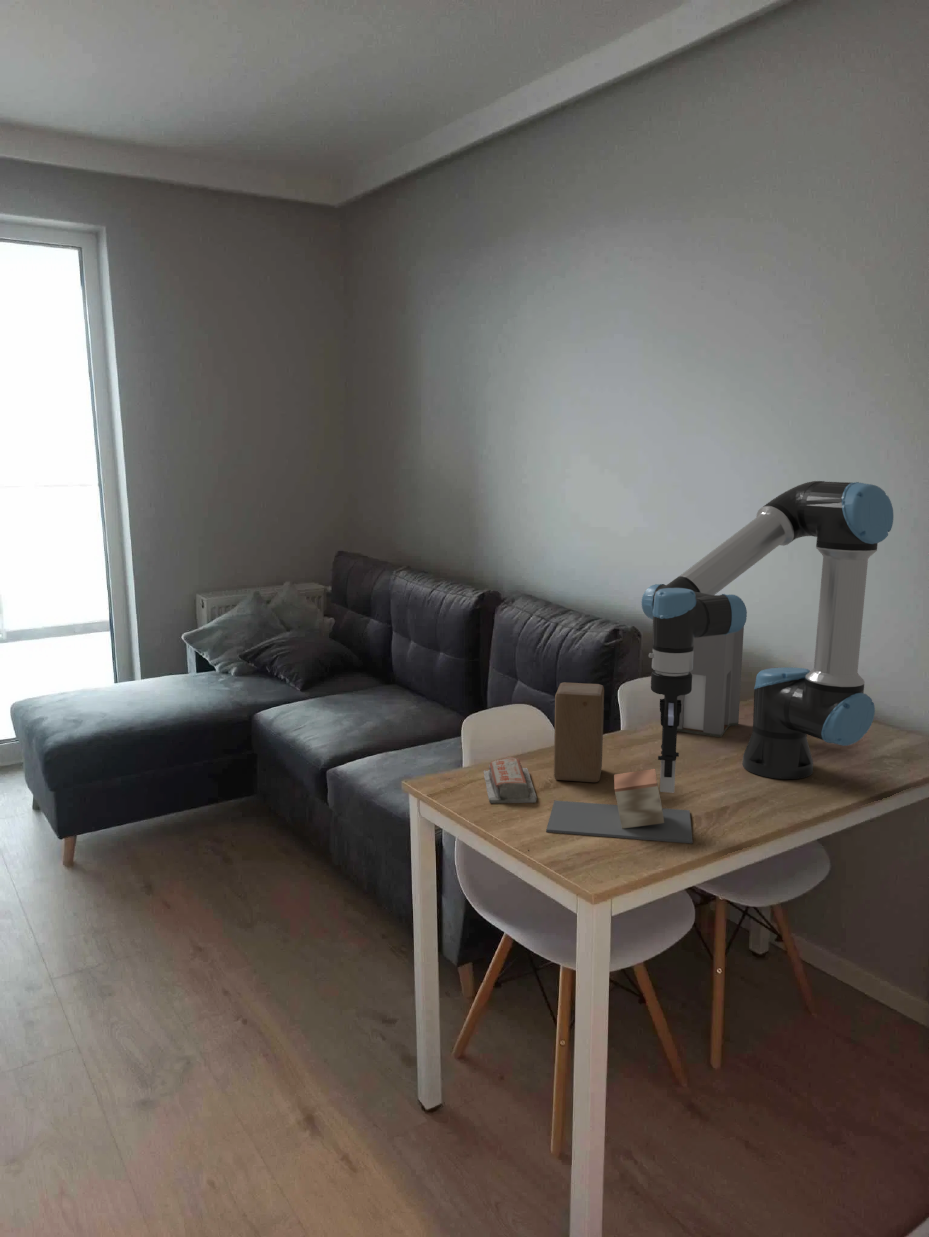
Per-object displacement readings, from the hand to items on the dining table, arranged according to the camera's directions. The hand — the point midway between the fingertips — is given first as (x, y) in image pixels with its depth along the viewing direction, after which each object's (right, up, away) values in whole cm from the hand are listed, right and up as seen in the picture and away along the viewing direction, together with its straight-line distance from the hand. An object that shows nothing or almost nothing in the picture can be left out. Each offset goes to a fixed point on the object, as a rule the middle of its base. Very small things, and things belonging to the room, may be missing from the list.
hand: (667, 790), depth 181 cm
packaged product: (-29, -4, +22) cm, 36 cm away
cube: (-4, -6, +2) cm, 7 cm away
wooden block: (-14, -2, +29) cm, 32 cm away
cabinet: (+24, +4, +60) cm, 65 cm away
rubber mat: (-9, -7, +3) cm, 11 cm away
